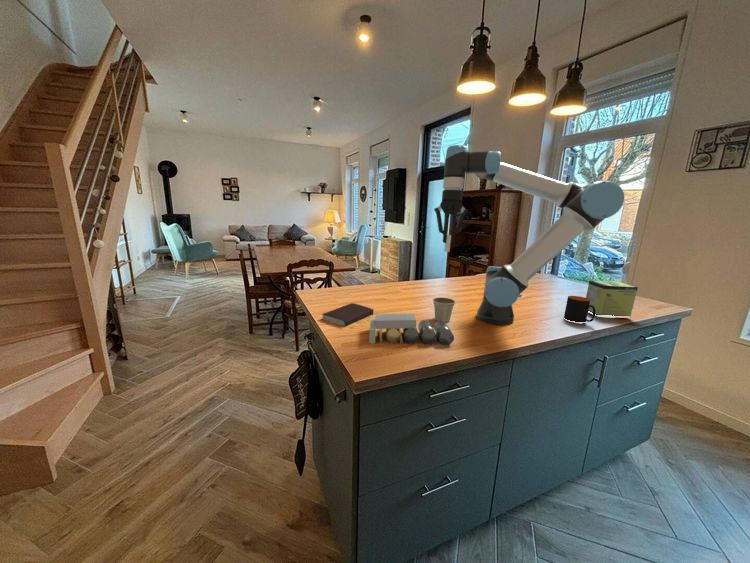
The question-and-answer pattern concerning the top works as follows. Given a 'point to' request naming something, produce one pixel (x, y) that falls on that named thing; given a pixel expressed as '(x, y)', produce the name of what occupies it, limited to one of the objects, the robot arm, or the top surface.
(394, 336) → the roller
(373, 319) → the stop fence
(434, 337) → the roller track
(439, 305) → the flower pot
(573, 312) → the mug
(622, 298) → the protein box
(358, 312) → the book
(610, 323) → the top surface
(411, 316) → the slab
